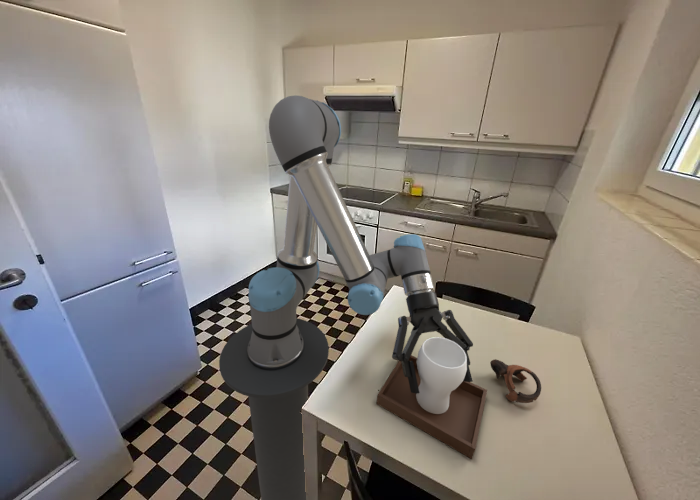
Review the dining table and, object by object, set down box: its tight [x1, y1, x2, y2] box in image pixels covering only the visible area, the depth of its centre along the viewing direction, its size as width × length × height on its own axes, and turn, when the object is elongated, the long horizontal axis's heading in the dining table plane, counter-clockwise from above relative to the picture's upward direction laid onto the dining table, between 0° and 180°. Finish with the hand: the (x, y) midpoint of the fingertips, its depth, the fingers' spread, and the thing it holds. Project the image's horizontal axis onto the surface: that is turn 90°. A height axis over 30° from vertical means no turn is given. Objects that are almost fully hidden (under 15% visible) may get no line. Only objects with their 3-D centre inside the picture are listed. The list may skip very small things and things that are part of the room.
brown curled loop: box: [490, 358, 542, 404], centre depth 71 cm, size 12×10×8 cm
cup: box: [416, 336, 467, 414], centre depth 64 cm, size 11×11×15 cm
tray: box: [375, 354, 488, 460], centre depth 67 cm, size 22×17×3 cm
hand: (442, 387), depth 63 cm, fingers open, 13 cm apart
